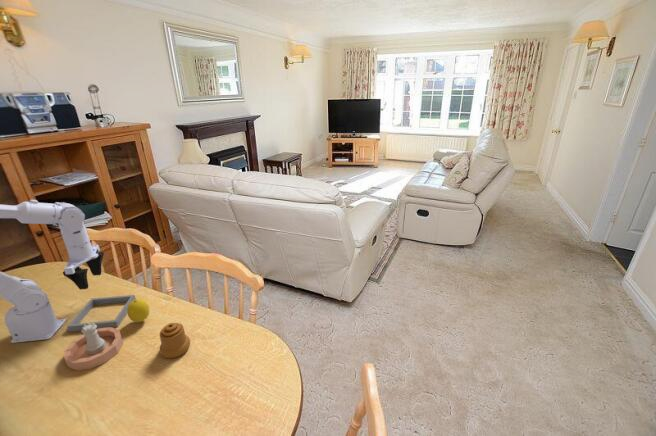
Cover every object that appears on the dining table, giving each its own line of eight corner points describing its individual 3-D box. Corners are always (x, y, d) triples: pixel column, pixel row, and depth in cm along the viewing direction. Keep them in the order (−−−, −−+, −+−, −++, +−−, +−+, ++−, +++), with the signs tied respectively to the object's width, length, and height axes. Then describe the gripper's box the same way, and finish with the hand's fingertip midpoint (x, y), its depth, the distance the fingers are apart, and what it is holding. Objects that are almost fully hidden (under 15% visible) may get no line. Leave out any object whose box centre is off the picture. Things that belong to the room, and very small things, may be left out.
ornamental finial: (186, 358, 79) (156, 361, 78) (193, 337, 86) (166, 340, 85) (181, 334, 76) (149, 337, 75) (189, 315, 83) (160, 317, 82)
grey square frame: (68, 331, 87) (66, 326, 87) (93, 303, 99) (91, 298, 99) (117, 326, 90) (116, 321, 89) (135, 299, 101) (134, 294, 101)
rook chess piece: (110, 346, 82) (102, 322, 79) (93, 358, 78) (83, 334, 75) (100, 340, 84) (92, 318, 81) (82, 352, 80) (73, 328, 77)
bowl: (56, 372, 75) (53, 365, 74) (84, 337, 86) (81, 330, 85) (109, 366, 77) (106, 358, 76) (130, 332, 88) (127, 325, 87)
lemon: (155, 315, 94) (150, 294, 91) (143, 328, 89) (137, 306, 86) (139, 314, 95) (133, 293, 92) (126, 327, 90) (119, 305, 86)
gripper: (78, 253, 84) (92, 294, 89) (105, 231, 97) (115, 268, 102) (49, 255, 82) (65, 296, 88) (80, 233, 96) (92, 269, 101)
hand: (90, 281), depth 95 cm, fingers open, 7 cm apart
